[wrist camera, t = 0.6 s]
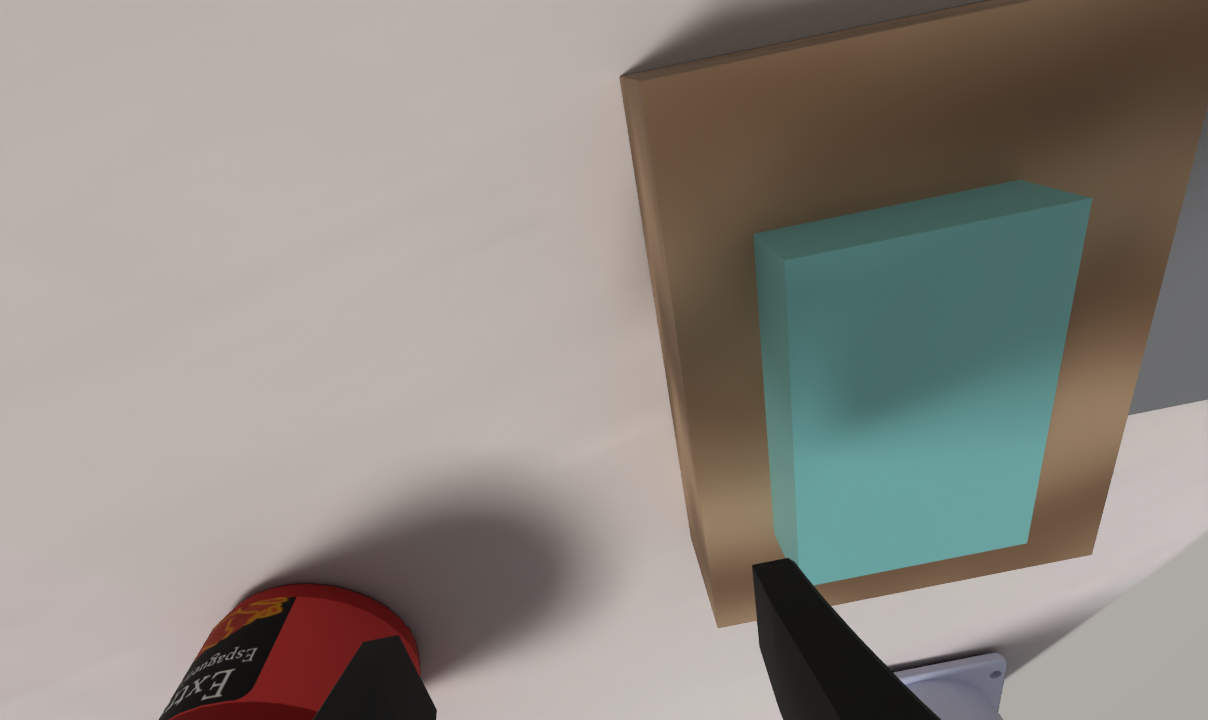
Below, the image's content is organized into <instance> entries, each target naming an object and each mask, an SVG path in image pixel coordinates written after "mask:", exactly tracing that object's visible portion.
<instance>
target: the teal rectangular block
mask: <svg viewBox="0 0 1208 720" xmlns="http://www.w3.org/2000/svg"><path fill="white" fill-rule="evenodd" d="M1091 203H1092V198H1090V197H1086V196H1082V195H1078V194H1074V193H1070V192H1066V191H1062V190H1058V189H1054V188H1050V187H1046V186H1042V185H1038V184H1035V183H1031V182H1027V181H1023V180H1015V181H1010V182H1006V183H1001V184H996V185H991V186H986V187H981V188H976V189H971V190H966V191H961V192H956V193H951V194H946V195H942V196H937V197H932V198H927V199H922V200H917V201H912V202H907V203H902V204H897V205H892V206H887V207H883V208H878V209H873V210H868V211H863V212H858V213H853V214H848V215H843V216H838V217H833V218H828V219H823V220H819V221H814V222H809V223H804V224H799V225H794V226H789V227H784V228H779V229H774V230H769V231H764V232H759V233H755V234H753V239H754V254H755V268H756V282H757V296H758V311H759V325H760V339H761V354H762V368H763V382H764V396H765V411H766V425H767V439H768V454H769V468H770V482H771V496H772V511H773V525H774V535H775V537H776V539H777V541H778V543H779V545H780V547H781V550H782V552H783V554H784V556H785V558H789V559H791V560H793V561H794V562H795V563H796V564H797V565H798V567H799V568H800V569H801V571H802V572H803V573H804V574H805V576H806V577H807V578H808V579H809V581H810V582H811V583H812V584H813V585H818V584H823V583H828V582H833V581H839V580H844V579H849V578H854V577H859V576H864V575H869V574H874V573H879V572H884V571H889V570H894V569H899V568H904V567H909V566H914V565H920V564H925V563H930V562H935V561H940V560H945V559H950V558H955V557H960V556H965V555H970V554H975V553H980V552H985V551H990V550H996V549H1001V548H1006V547H1011V546H1016V545H1021V544H1026V543H1027V541H1028V536H1029V530H1030V525H1031V520H1032V515H1033V509H1034V504H1035V499H1036V493H1037V488H1038V483H1039V478H1040V472H1041V467H1042V462H1043V456H1044V451H1045V446H1046V441H1047V435H1048V430H1049V425H1050V420H1051V414H1052V409H1053V404H1054V398H1055V393H1056V388H1057V383H1058V377H1059V372H1060V367H1061V361H1062V356H1063V351H1064V346H1065V340H1066V335H1067V330H1068V325H1069V319H1070V314H1071V309H1072V303H1073V298H1074V293H1075V288H1076V282H1077V277H1078V272H1079V266H1080V261H1081V256H1082V251H1083V245H1084V240H1085V235H1086V230H1087V224H1088V219H1089V214H1090V208H1091Z"/></svg>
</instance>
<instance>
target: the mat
mask: <svg viewBox="0 0 1208 720" xmlns="http://www.w3.org/2000/svg"><path fill="white" fill-rule="evenodd" d="M1207 399H1208V108H1207V112H1206V115H1205V119H1204V123H1203V127H1202V131H1201V135H1200V139H1199V142H1198V146H1197V150H1196V154H1195V158H1194V162H1193V166H1192V169H1191V173H1190V177H1189V181H1188V185H1187V189H1186V193H1185V196H1184V200H1183V204H1182V208H1181V212H1180V216H1179V220H1178V224H1177V227H1176V231H1175V235H1174V239H1173V243H1172V247H1171V251H1170V254H1169V258H1168V262H1167V266H1166V270H1165V274H1164V278H1163V281H1162V285H1161V289H1160V293H1159V297H1158V301H1157V305H1156V308H1155V312H1154V316H1153V320H1152V324H1151V328H1150V332H1149V335H1148V339H1147V343H1146V347H1145V351H1144V355H1143V359H1142V363H1141V366H1140V370H1139V374H1138V378H1137V382H1136V386H1135V390H1134V393H1133V397H1132V401H1131V405H1130V409H1129V413H1128V415H1132V414H1137V413H1142V412H1147V411H1152V410H1157V409H1162V408H1167V407H1172V406H1177V405H1182V404H1187V403H1192V402H1197V401H1202V400H1207Z"/></svg>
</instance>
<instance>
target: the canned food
mask: <svg viewBox="0 0 1208 720" xmlns="http://www.w3.org/2000/svg"><path fill="white" fill-rule="evenodd" d="M395 635H399V636H400V638H401V640H402V642H403V644H404V646H405V648H406V650H407V652H408V654H409V656H410V658H411V660H412V662H413V664H414V666H415V668H416V670H417V672H418V674H419V676H420V673H421V672H420V663H419V655H418V650H417V645H416V641H415V639H414V637H413V635H412V633H411V632H410V630H409V628H408V627H407V626H406V625H405V624H404V622H403V621H402V620H401V619H400V618H399V617H398V616H397V615H395V614H394V613H393V612H392V611H391V610H389V609H388V608H387V607H385V606H383V605H382V604H380V603H378V602H376V601H375V600H373V599H371V598H369V597H366V596H364V595H361V594H359V593H356V592H353V591H350V590H346V589H342V588H338V587H334V586H326V585H316V584H295V585H286V586H281V587H275V588H271V589H268V590H265V591H262V592H260V593H257V594H254V595H253V596H251V597H249V598H248V599H246V600H244V601H243V602H241V603H240V604H239V605H238V606H237V607H235V608H234V609H233V610H232V611H231V612H230V613H229V614H228V615H227V616H226V617H224V618H223V619H222V620H221V621H220V622H219V623H218V624H217V625H216V626H215V627H214V628H213V630H212V632H211V633H210V635H209V637H208V638H207V640H206V642H205V643H204V645H203V647H202V648H201V650H200V652H199V653H198V655H197V657H196V658H195V660H194V662H193V663H192V665H191V667H190V668H189V670H188V672H187V673H186V675H185V677H184V678H183V680H182V682H181V683H180V685H179V687H178V688H177V690H176V692H175V693H174V695H173V697H172V698H171V700H170V702H169V703H168V705H167V707H166V708H165V710H164V712H163V713H162V715H161V717H160V718H159V720H313V718H314V717H315V715H316V714H317V712H318V711H319V709H320V707H321V706H322V704H323V703H324V701H325V700H326V698H327V697H328V695H329V693H330V692H331V690H332V689H333V687H334V686H335V684H336V683H337V681H338V679H339V678H340V676H341V675H342V673H343V672H344V670H345V669H346V667H347V665H348V664H349V662H350V661H351V659H352V658H353V656H354V655H355V653H356V652H357V650H358V649H359V647H360V646H361V644H362V643H363V642H365V641H370V640H375V639H380V638H385V637H390V636H395Z"/></svg>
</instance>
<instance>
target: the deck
mask: <svg viewBox="0 0 1208 720" xmlns="http://www.w3.org/2000/svg"><path fill="white" fill-rule="evenodd" d="M620 83H621V89H622V96H623V102H624V108H625V115H626V121H627V128H628V134H629V141H630V147H631V154H632V160H633V166H634V173H635V179H636V186H637V192H638V199H639V205H640V212H641V218H642V224H643V231H644V237H645V244H646V250H647V257H648V263H649V270H650V276H651V282H652V289H653V295H654V302H655V308H656V315H657V321H658V328H659V334H660V340H661V347H662V353H663V360H664V366H665V373H666V379H667V386H668V392H669V398H670V405H671V411H672V418H673V424H674V431H675V437H676V444H677V450H678V456H679V463H680V469H681V476H682V482H683V489H684V495H685V502H686V508H687V515H688V521H689V527H690V534H691V539H692V543H693V546H694V550H695V553H696V556H697V560H698V563H699V566H700V570H701V573H702V577H703V580H704V583H705V587H706V590H707V593H708V597H709V600H710V603H711V607H712V610H713V614H714V617H715V620H716V624H717V627H718V628H722V627H727V626H732V625H737V624H742V623H747V622H752V621H757V614H756V604H755V593H754V583H753V573H752V565H754V564H759V563H764V562H769V561H774V560H779V559H784V558H785V556H784V554H783V552H782V550H781V547H780V545H779V543H778V541H777V539H776V537H775V535H774V525H773V511H772V496H771V482H770V468H769V454H768V439H767V425H766V411H765V396H764V382H763V368H762V354H761V339H760V325H759V311H758V296H757V282H756V268H755V254H754V239H753V234H755V233H759V232H764V231H769V230H774V229H779V228H784V227H789V226H794V225H799V224H804V223H809V222H814V221H819V220H823V219H828V218H833V217H838V216H843V215H848V214H853V213H858V212H863V211H868V210H873V209H878V208H883V207H887V206H892V205H897V204H902V203H907V202H912V201H917V200H922V199H927V198H932V197H937V196H942V195H946V194H951V193H956V192H961V191H966V190H971V189H976V188H981V187H986V186H991V185H996V184H1001V183H1006V182H1010V181H1015V180H1023V181H1027V182H1031V183H1035V184H1038V185H1042V186H1046V187H1050V188H1054V189H1058V190H1062V191H1066V192H1070V193H1074V194H1078V195H1082V196H1086V197H1090V198H1092V203H1091V208H1090V214H1089V219H1088V224H1087V230H1086V235H1085V240H1084V245H1083V251H1082V256H1081V261H1080V266H1079V272H1078V277H1077V282H1076V288H1075V293H1074V298H1073V303H1072V309H1071V314H1070V319H1069V325H1068V330H1067V335H1066V340H1065V346H1064V351H1063V356H1062V361H1061V367H1060V372H1059V377H1058V383H1057V388H1056V393H1055V398H1054V404H1053V409H1052V414H1051V420H1050V425H1049V430H1048V435H1047V441H1046V446H1045V451H1044V456H1043V462H1042V467H1041V472H1040V478H1039V483H1038V488H1037V493H1036V499H1035V504H1034V509H1033V515H1032V520H1031V525H1030V530H1029V536H1028V541H1027V543H1026V544H1021V545H1016V546H1011V547H1006V548H1001V549H996V550H990V551H985V552H980V553H975V554H970V555H965V556H960V557H955V558H950V559H945V560H940V561H935V562H930V563H925V564H920V565H914V566H909V567H904V568H899V569H894V570H889V571H884V572H879V573H874V574H869V575H864V576H859V577H854V578H849V579H844V580H839V581H833V582H828V583H823V584H818V585H813V586H814V587H815V588H816V589H817V590H818V592H819V593H820V594H821V595H822V596H823V597H824V599H825V600H826V601H827V602H828V603H829V604H830V606H833V605H838V604H843V603H848V602H854V601H859V600H864V599H869V598H874V597H879V596H884V595H889V594H894V593H899V592H904V591H909V590H914V589H920V588H925V587H930V586H935V585H940V584H945V583H950V582H955V581H960V580H965V579H970V578H975V577H980V576H986V575H991V574H996V573H1001V572H1006V571H1011V570H1016V569H1021V568H1026V567H1031V566H1036V565H1041V564H1046V563H1051V562H1057V561H1062V560H1067V559H1072V558H1077V557H1082V556H1087V555H1092V552H1093V548H1094V544H1095V540H1096V536H1097V532H1098V529H1099V525H1100V521H1101V517H1102V513H1103V509H1104V505H1105V502H1106V498H1107V494H1108V490H1109V486H1110V482H1111V478H1112V474H1113V471H1114V467H1115V463H1116V459H1117V455H1118V451H1119V447H1120V444H1121V440H1122V436H1123V432H1124V428H1125V424H1126V420H1127V417H1128V413H1129V409H1130V405H1131V401H1132V397H1133V393H1134V390H1135V386H1136V382H1137V378H1138V374H1139V370H1140V366H1141V363H1142V359H1143V355H1144V351H1145V347H1146V343H1147V339H1148V335H1149V332H1150V328H1151V324H1152V320H1153V316H1154V312H1155V308H1156V305H1157V301H1158V297H1159V293H1160V289H1161V285H1162V281H1163V278H1164V274H1165V270H1166V266H1167V262H1168V258H1169V254H1170V251H1171V247H1172V243H1173V239H1174V235H1175V231H1176V227H1177V224H1178V220H1179V216H1180V212H1181V208H1182V204H1183V200H1184V196H1185V193H1186V189H1187V185H1188V181H1189V177H1190V173H1191V169H1192V166H1193V162H1194V158H1195V154H1196V150H1197V146H1198V142H1199V139H1200V135H1201V131H1202V127H1203V123H1204V119H1205V115H1206V112H1207V108H1208V0H988V1H983V2H978V3H974V4H969V5H964V6H959V7H954V8H949V9H944V10H940V11H935V12H930V13H925V14H920V15H915V16H910V17H906V18H901V19H896V20H891V21H886V22H881V23H877V24H872V25H867V26H862V27H857V28H852V29H847V30H843V31H838V32H833V33H828V34H823V35H818V36H813V37H809V38H804V39H799V40H794V41H789V42H784V43H780V44H775V45H770V46H765V47H760V48H755V49H750V50H746V51H741V52H736V53H731V54H726V55H721V56H716V57H712V58H707V59H702V60H697V61H692V62H687V63H683V64H678V65H673V66H668V67H663V68H658V69H653V70H649V71H644V72H639V73H634V74H629V75H624V76H620Z"/></svg>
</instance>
